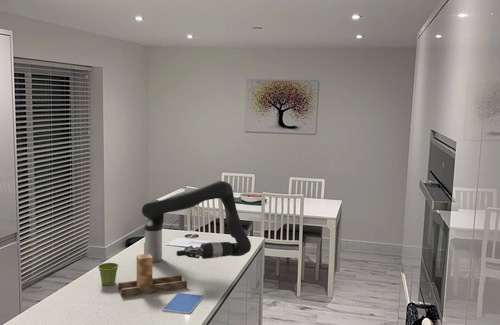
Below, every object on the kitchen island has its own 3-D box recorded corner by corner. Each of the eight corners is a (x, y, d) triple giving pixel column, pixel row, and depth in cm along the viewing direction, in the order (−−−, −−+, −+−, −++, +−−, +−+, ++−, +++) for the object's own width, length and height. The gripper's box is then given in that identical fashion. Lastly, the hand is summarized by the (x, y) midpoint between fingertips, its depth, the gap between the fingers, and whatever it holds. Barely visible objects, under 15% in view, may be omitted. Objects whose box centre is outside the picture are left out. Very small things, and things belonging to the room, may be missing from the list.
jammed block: (149, 284, 223) (149, 253, 222) (152, 289, 218) (152, 257, 216) (136, 286, 221) (136, 255, 219) (139, 291, 215) (139, 258, 214)
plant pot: (122, 281, 230) (122, 264, 229) (110, 288, 221) (110, 270, 220) (106, 278, 233) (106, 261, 232) (94, 285, 224) (93, 267, 223)
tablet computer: (177, 294, 217) (177, 291, 216) (204, 297, 214) (204, 294, 214) (161, 312, 198) (161, 309, 198) (190, 315, 195) (190, 312, 195)
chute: (181, 281, 232) (181, 274, 232) (187, 288, 223) (187, 281, 222) (118, 289, 219) (118, 282, 219) (122, 297, 210) (121, 290, 210)
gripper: (207, 239, 237) (173, 241, 230) (216, 246, 226) (181, 249, 218) (206, 253, 238) (173, 256, 231) (215, 262, 226) (180, 265, 219)
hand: (177, 253), depth 225 cm, fingers closed
